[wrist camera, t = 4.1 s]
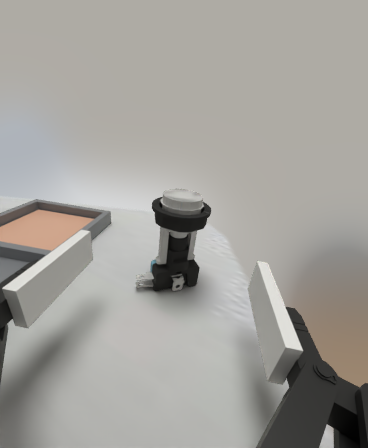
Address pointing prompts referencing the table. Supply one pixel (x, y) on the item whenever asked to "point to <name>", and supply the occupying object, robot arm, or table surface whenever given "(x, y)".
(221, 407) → the table surface
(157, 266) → the push button
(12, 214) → the sorting tray
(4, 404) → the table surface
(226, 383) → the table surface
